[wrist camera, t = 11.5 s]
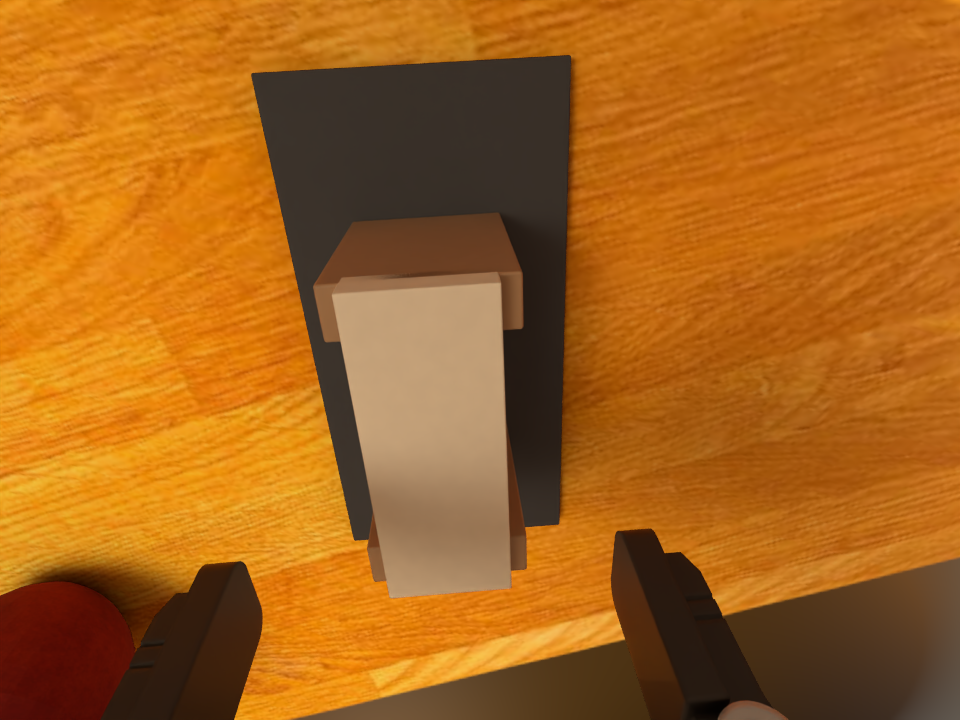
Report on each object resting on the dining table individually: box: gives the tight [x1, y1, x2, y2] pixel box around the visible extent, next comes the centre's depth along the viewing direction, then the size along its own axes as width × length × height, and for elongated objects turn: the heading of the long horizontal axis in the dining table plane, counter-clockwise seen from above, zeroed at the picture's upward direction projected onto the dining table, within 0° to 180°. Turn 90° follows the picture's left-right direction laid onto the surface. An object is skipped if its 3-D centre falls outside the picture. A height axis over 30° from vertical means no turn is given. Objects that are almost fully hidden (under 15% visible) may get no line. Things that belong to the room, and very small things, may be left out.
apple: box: [0, 581, 135, 720], centre depth 24 cm, size 10×10×10 cm
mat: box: [251, 55, 571, 541], centre depth 22 cm, size 20×10×1 cm, turn 3°
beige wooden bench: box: [313, 213, 527, 598], centre depth 18 cm, size 11×5×7 cm, turn 3°
